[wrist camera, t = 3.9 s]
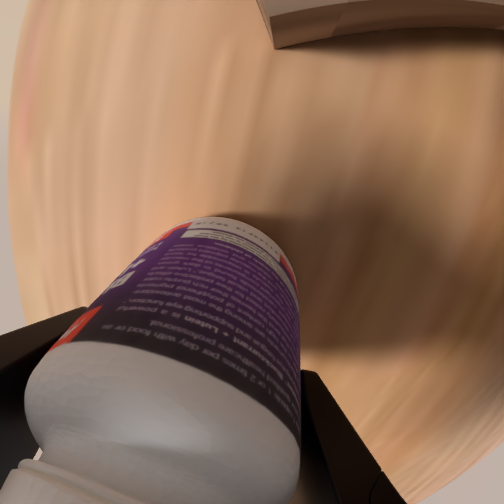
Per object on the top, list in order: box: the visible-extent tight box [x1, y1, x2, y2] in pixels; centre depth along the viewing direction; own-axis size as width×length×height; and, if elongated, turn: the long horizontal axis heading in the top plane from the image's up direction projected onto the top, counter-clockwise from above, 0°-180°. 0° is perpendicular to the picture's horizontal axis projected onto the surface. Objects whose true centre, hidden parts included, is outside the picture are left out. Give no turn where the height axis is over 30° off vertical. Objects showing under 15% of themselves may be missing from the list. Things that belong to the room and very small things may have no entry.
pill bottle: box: [0, 217, 301, 504], centre depth 6 cm, size 5×5×10 cm
